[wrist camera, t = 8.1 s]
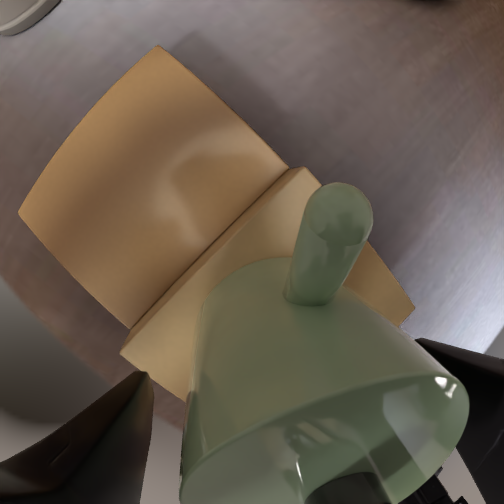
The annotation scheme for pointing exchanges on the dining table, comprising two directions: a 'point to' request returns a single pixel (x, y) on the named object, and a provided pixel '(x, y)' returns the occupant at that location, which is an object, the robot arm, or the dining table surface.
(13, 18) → the travel mug
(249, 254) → the stand
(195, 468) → the kettle
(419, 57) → the dining table surface
